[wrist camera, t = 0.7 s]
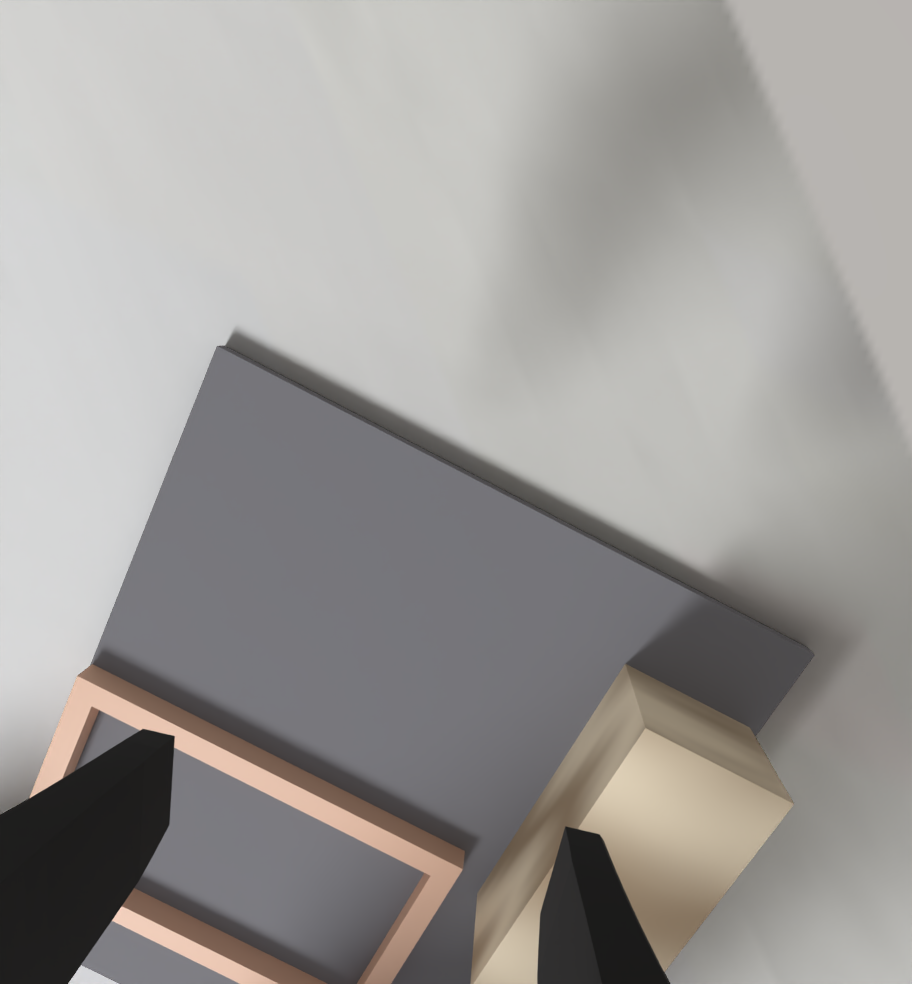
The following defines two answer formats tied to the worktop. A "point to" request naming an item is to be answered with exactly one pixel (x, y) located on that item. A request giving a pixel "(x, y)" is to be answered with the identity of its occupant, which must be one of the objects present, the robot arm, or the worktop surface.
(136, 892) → the terracotta frame
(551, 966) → the robot arm
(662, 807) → the cream long block
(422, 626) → the rubber mat
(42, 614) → the worktop surface
